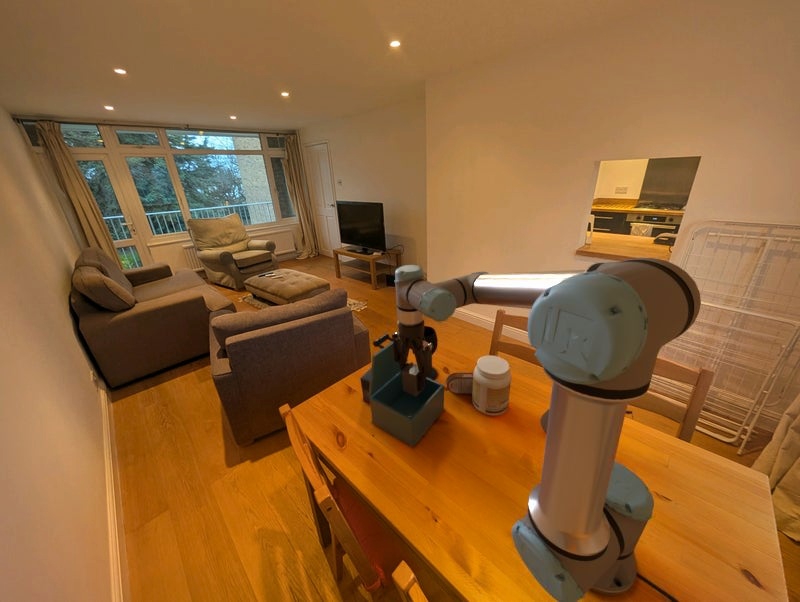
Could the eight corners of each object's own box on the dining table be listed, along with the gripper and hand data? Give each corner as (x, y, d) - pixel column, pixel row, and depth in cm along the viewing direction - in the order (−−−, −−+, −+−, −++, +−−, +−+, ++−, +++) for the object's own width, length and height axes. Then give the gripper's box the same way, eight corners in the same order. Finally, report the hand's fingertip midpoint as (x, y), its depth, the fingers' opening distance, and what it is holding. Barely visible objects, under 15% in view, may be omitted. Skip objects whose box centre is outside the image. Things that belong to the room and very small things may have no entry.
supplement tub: (513, 401, 103) (519, 362, 96) (498, 423, 95) (503, 381, 88) (481, 387, 111) (484, 349, 104) (465, 406, 102) (467, 366, 96)
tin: (486, 389, 109) (487, 371, 106) (488, 395, 106) (489, 376, 103) (445, 389, 110) (446, 371, 107) (446, 395, 107) (446, 377, 104)
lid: (412, 329, 97) (397, 321, 100) (374, 356, 84) (359, 346, 87) (405, 367, 106) (391, 358, 109) (370, 397, 93) (356, 386, 96)
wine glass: (409, 379, 117) (407, 336, 109) (415, 364, 126) (414, 323, 118) (434, 383, 114) (434, 339, 106) (439, 367, 123) (439, 326, 115)
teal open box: (443, 409, 101) (444, 385, 97) (412, 447, 88) (411, 420, 84) (405, 391, 111) (404, 367, 107) (372, 422, 98) (369, 397, 93)
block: (424, 388, 93) (424, 367, 90) (415, 397, 90) (414, 376, 86) (411, 382, 96) (411, 362, 93) (402, 390, 93) (401, 370, 89)
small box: (378, 383, 116) (376, 361, 112) (392, 388, 113) (390, 366, 108) (362, 400, 108) (359, 377, 103) (376, 406, 105) (374, 382, 100)
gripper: (445, 322, 80) (444, 389, 90) (394, 307, 91) (398, 369, 100) (430, 334, 75) (431, 404, 84) (378, 317, 85) (384, 381, 95)
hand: (413, 385), depth 92 cm, fingers closed on block, 5 cm apart
